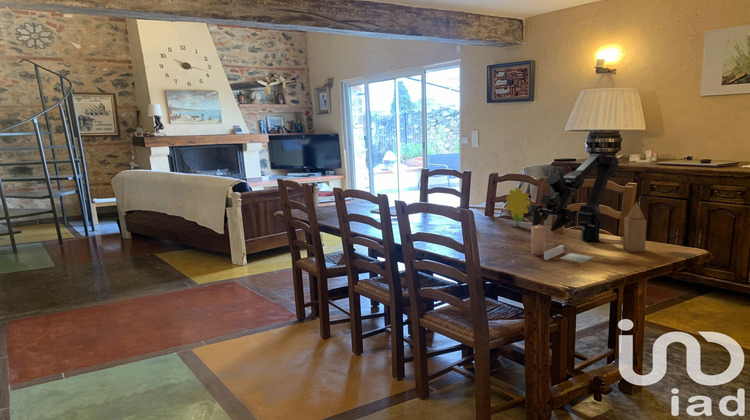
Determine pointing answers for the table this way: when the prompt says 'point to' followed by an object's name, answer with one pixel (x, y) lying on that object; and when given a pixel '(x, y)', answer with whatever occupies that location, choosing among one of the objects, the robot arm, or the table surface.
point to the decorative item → (517, 204)
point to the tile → (576, 257)
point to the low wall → (553, 252)
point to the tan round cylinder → (538, 239)
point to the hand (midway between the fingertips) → (542, 229)
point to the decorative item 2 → (634, 230)
